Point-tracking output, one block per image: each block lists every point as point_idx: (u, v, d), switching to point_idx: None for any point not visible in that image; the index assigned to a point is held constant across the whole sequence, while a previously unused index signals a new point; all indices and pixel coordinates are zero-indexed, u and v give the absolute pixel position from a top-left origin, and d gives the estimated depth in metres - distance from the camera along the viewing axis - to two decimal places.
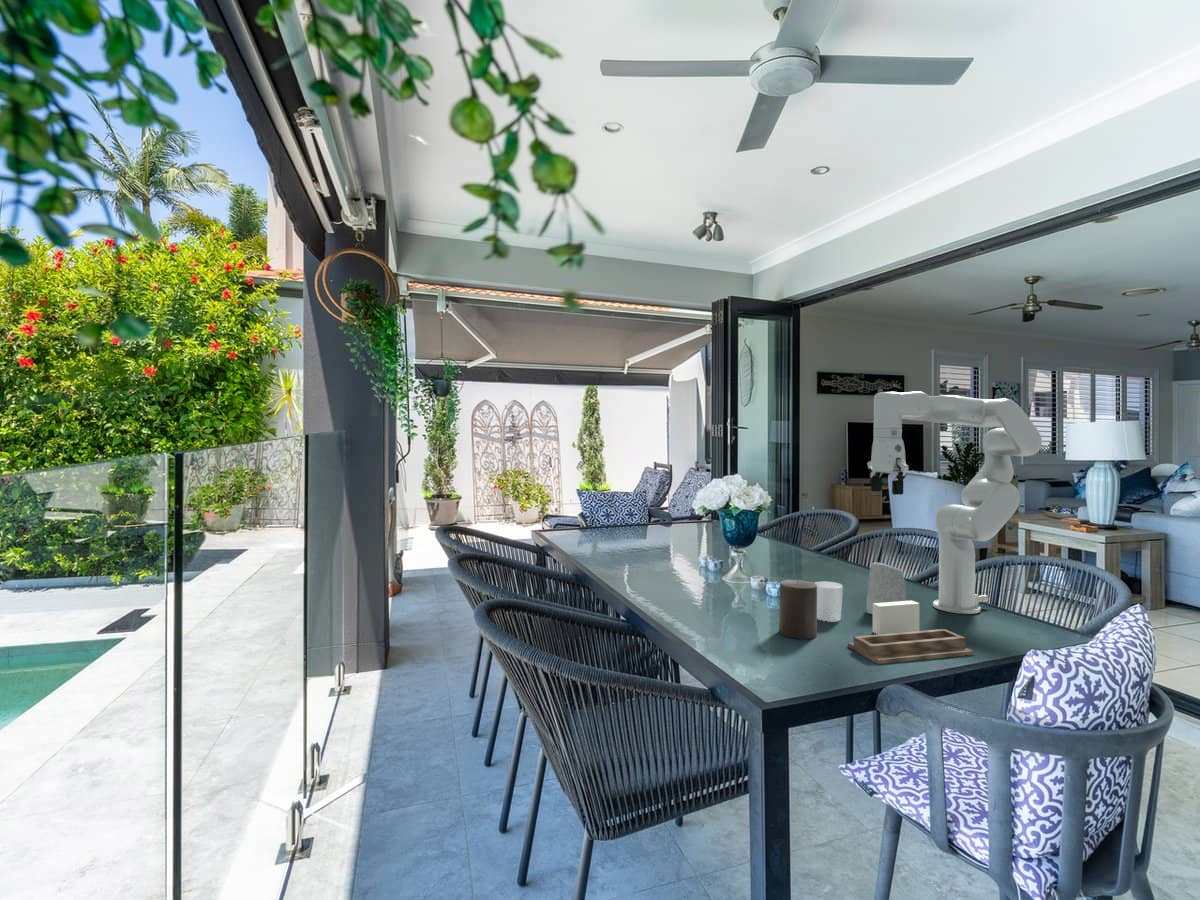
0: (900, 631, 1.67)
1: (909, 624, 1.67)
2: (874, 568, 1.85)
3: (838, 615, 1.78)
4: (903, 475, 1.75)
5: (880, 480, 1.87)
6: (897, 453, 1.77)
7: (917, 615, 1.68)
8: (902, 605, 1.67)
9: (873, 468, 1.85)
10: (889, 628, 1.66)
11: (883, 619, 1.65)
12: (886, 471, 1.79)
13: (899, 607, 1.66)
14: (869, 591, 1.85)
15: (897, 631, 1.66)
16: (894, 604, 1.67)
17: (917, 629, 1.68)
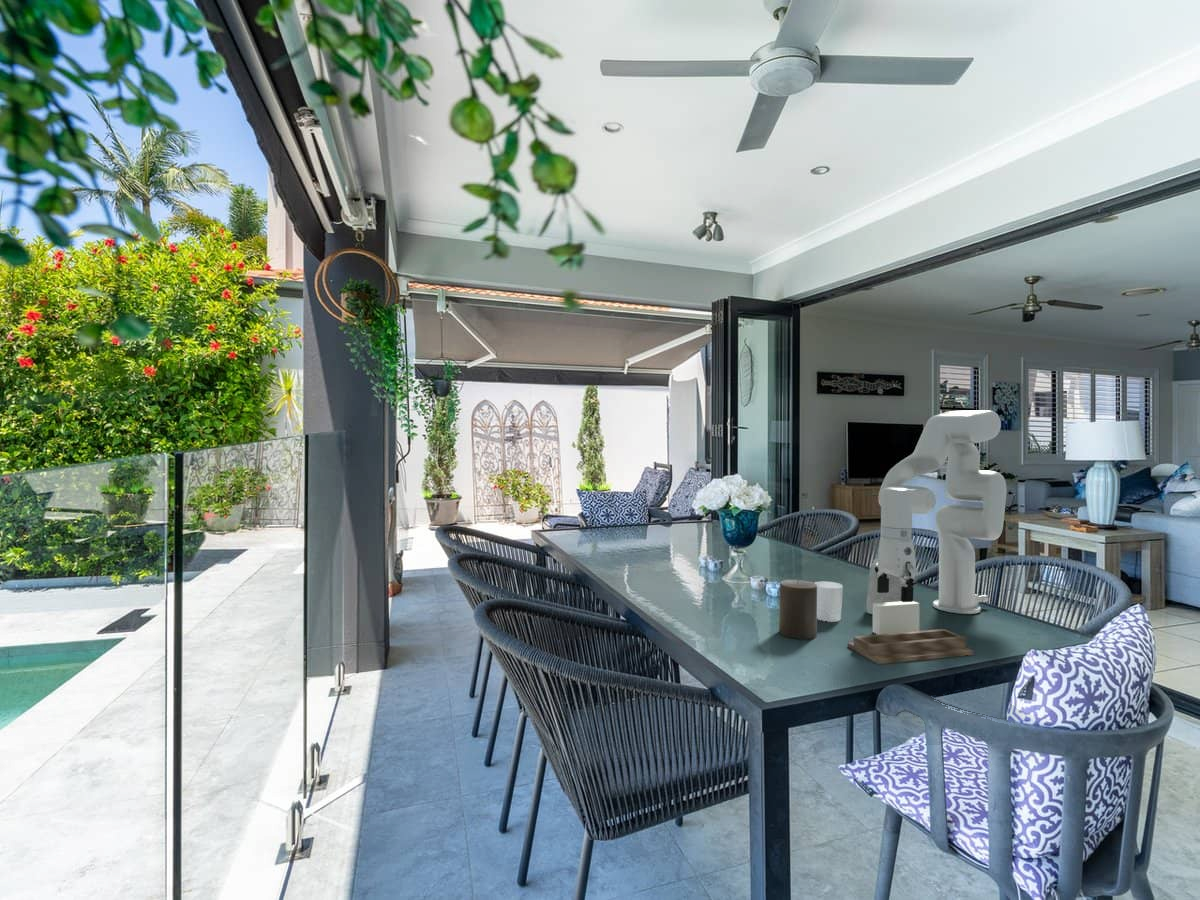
0: (900, 631, 1.67)
1: (909, 624, 1.67)
2: (874, 568, 1.85)
3: (838, 615, 1.78)
4: (913, 582, 1.60)
5: (887, 581, 1.72)
6: (907, 557, 1.62)
7: (917, 615, 1.68)
8: (902, 605, 1.67)
9: (880, 568, 1.70)
10: (889, 628, 1.66)
11: (883, 619, 1.65)
12: (895, 575, 1.64)
13: (899, 606, 1.66)
14: (869, 591, 1.85)
15: (897, 631, 1.66)
16: (894, 604, 1.67)
17: (917, 629, 1.68)
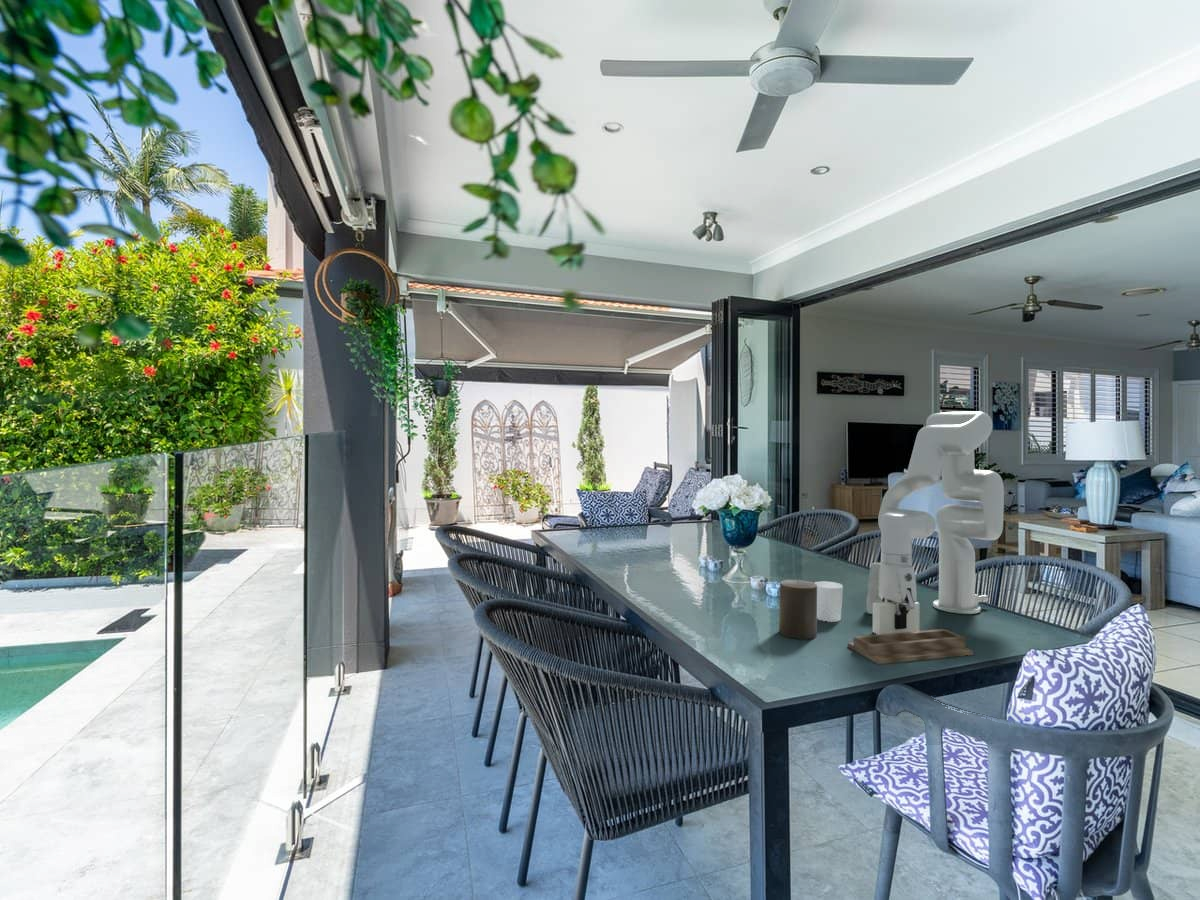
0: (900, 631, 1.67)
1: (909, 624, 1.67)
2: (874, 568, 1.85)
3: (838, 615, 1.78)
4: None
5: None
6: (907, 583, 1.63)
7: (917, 614, 1.67)
8: (902, 605, 1.67)
9: (881, 593, 1.71)
10: (889, 628, 1.66)
11: (883, 619, 1.65)
12: (896, 601, 1.65)
13: None
14: (869, 591, 1.85)
15: (897, 631, 1.66)
16: (894, 604, 1.67)
17: (917, 628, 1.68)
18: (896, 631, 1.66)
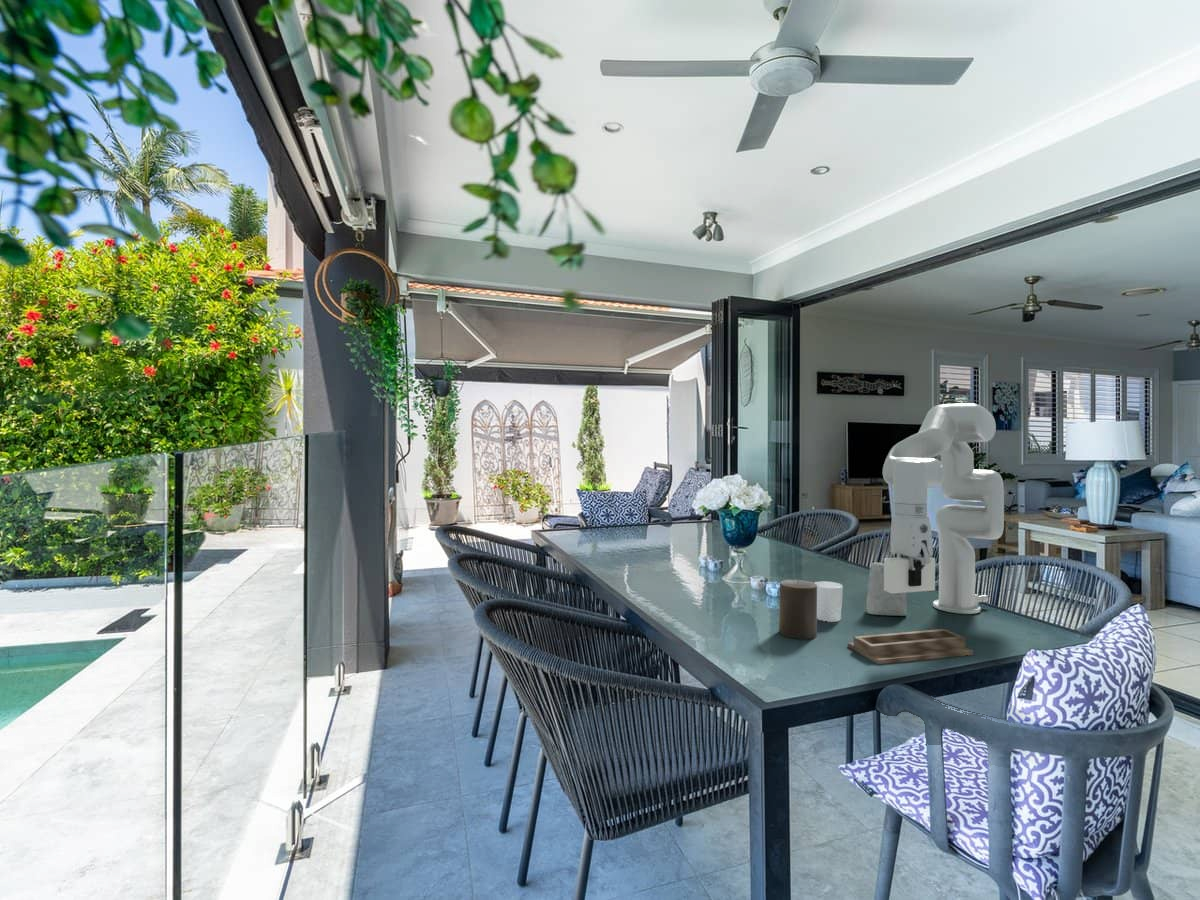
0: (914, 588, 1.52)
1: (924, 581, 1.53)
2: (874, 568, 1.85)
3: (838, 615, 1.78)
4: (920, 565, 1.50)
5: None
6: (923, 535, 1.48)
7: (933, 571, 1.53)
8: (916, 560, 1.52)
9: (893, 548, 1.56)
10: (902, 585, 1.52)
11: (895, 575, 1.51)
12: (910, 555, 1.50)
13: None
14: (869, 591, 1.85)
15: (911, 588, 1.52)
16: (907, 559, 1.52)
17: (932, 586, 1.53)
18: (910, 588, 1.52)
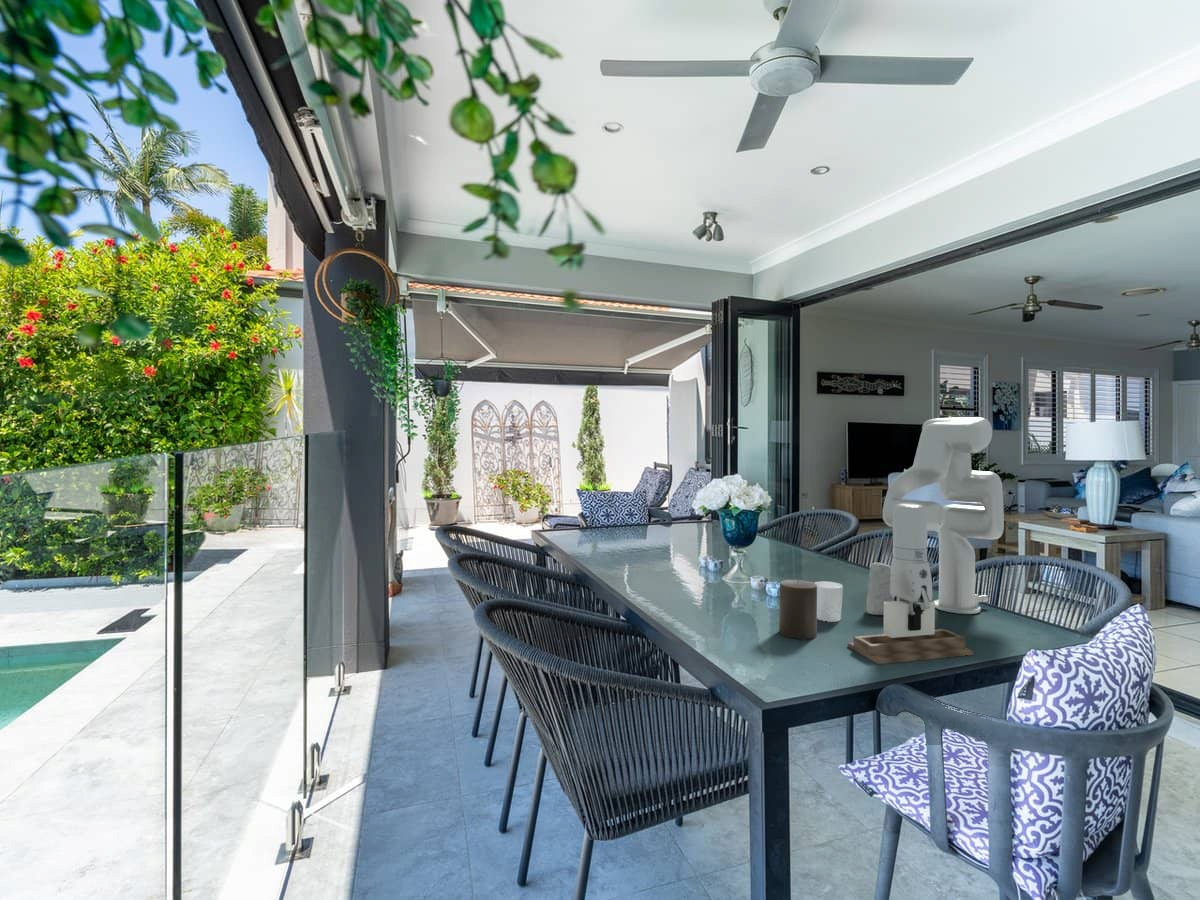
0: (914, 632, 1.52)
1: (924, 625, 1.53)
2: (874, 568, 1.85)
3: (838, 615, 1.78)
4: (920, 610, 1.50)
5: None
6: (922, 580, 1.49)
7: (933, 615, 1.53)
8: (916, 604, 1.52)
9: (892, 591, 1.57)
10: (902, 629, 1.52)
11: (895, 619, 1.51)
12: (909, 600, 1.51)
13: None
14: (869, 591, 1.85)
15: (910, 632, 1.52)
16: (907, 603, 1.53)
17: (932, 630, 1.53)
18: (909, 633, 1.52)
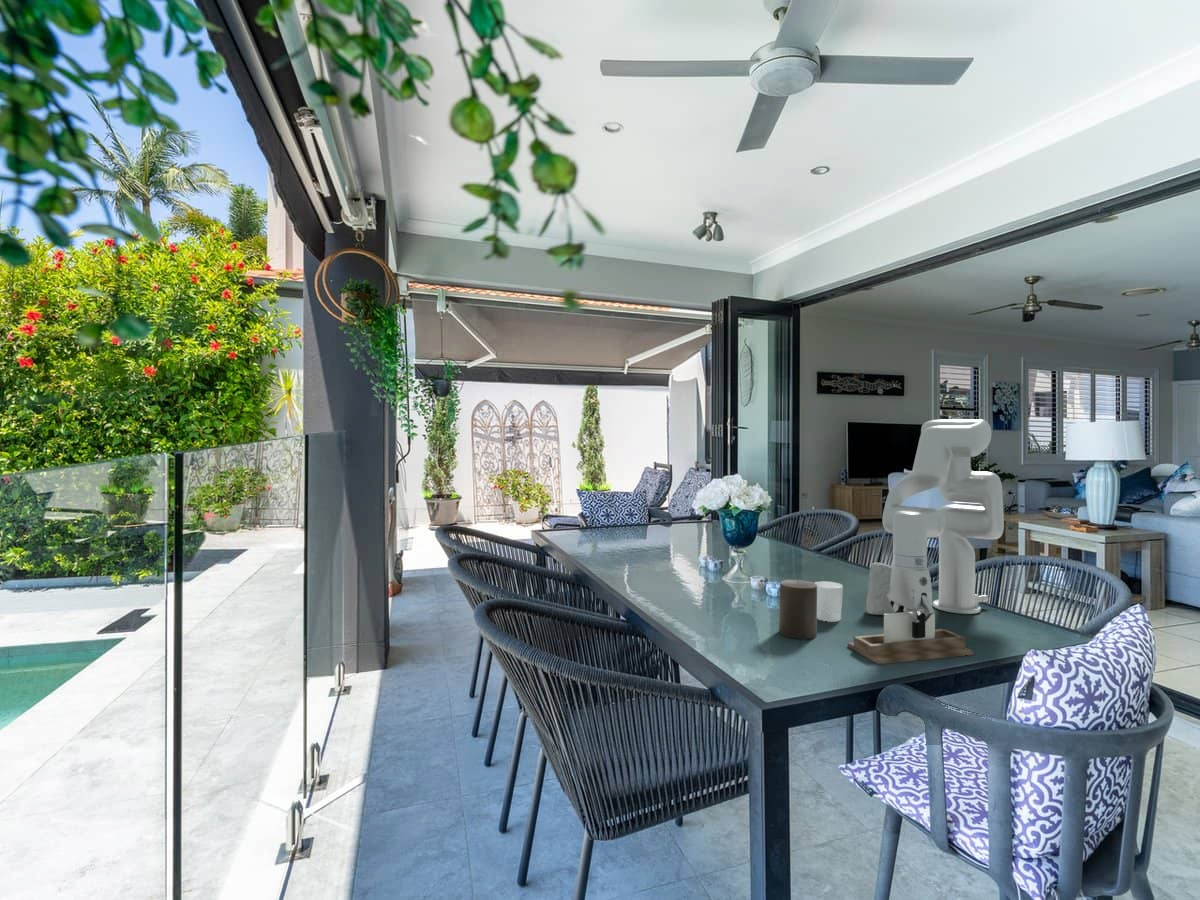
0: None
1: None
2: (874, 568, 1.85)
3: (838, 615, 1.78)
4: (925, 617, 1.48)
5: None
6: (922, 587, 1.49)
7: (933, 626, 1.54)
8: None
9: (892, 598, 1.57)
10: None
11: (895, 631, 1.52)
12: (909, 607, 1.51)
13: (912, 617, 1.52)
14: (869, 591, 1.85)
15: None
16: (907, 615, 1.53)
17: None
18: None
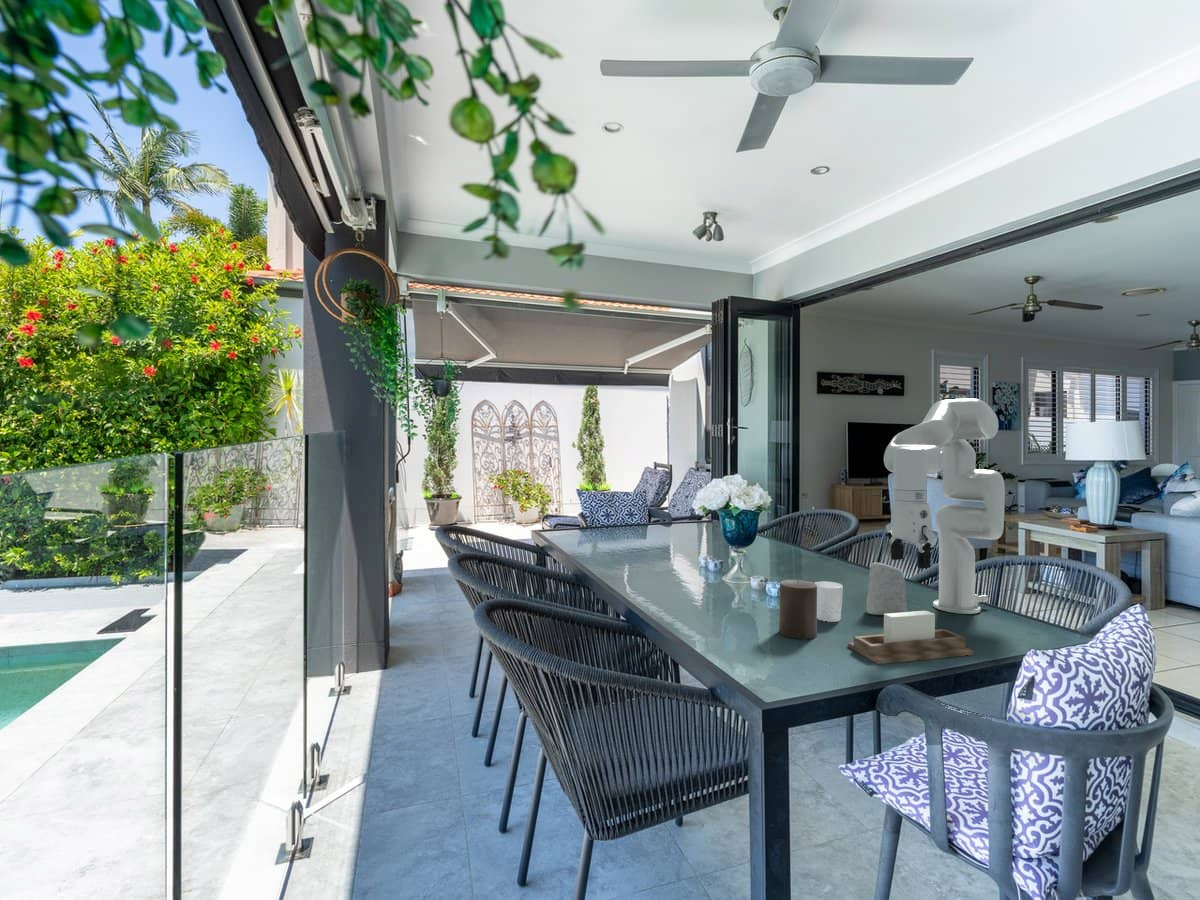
0: None
1: (924, 636, 1.53)
2: (874, 568, 1.85)
3: (838, 615, 1.78)
4: (931, 547, 1.50)
5: (901, 547, 1.61)
6: (923, 520, 1.52)
7: (933, 626, 1.54)
8: (916, 616, 1.53)
9: (893, 534, 1.60)
10: None
11: (895, 631, 1.52)
12: (910, 541, 1.54)
13: (912, 617, 1.52)
14: (869, 591, 1.85)
15: None
16: (907, 615, 1.53)
17: None
18: None
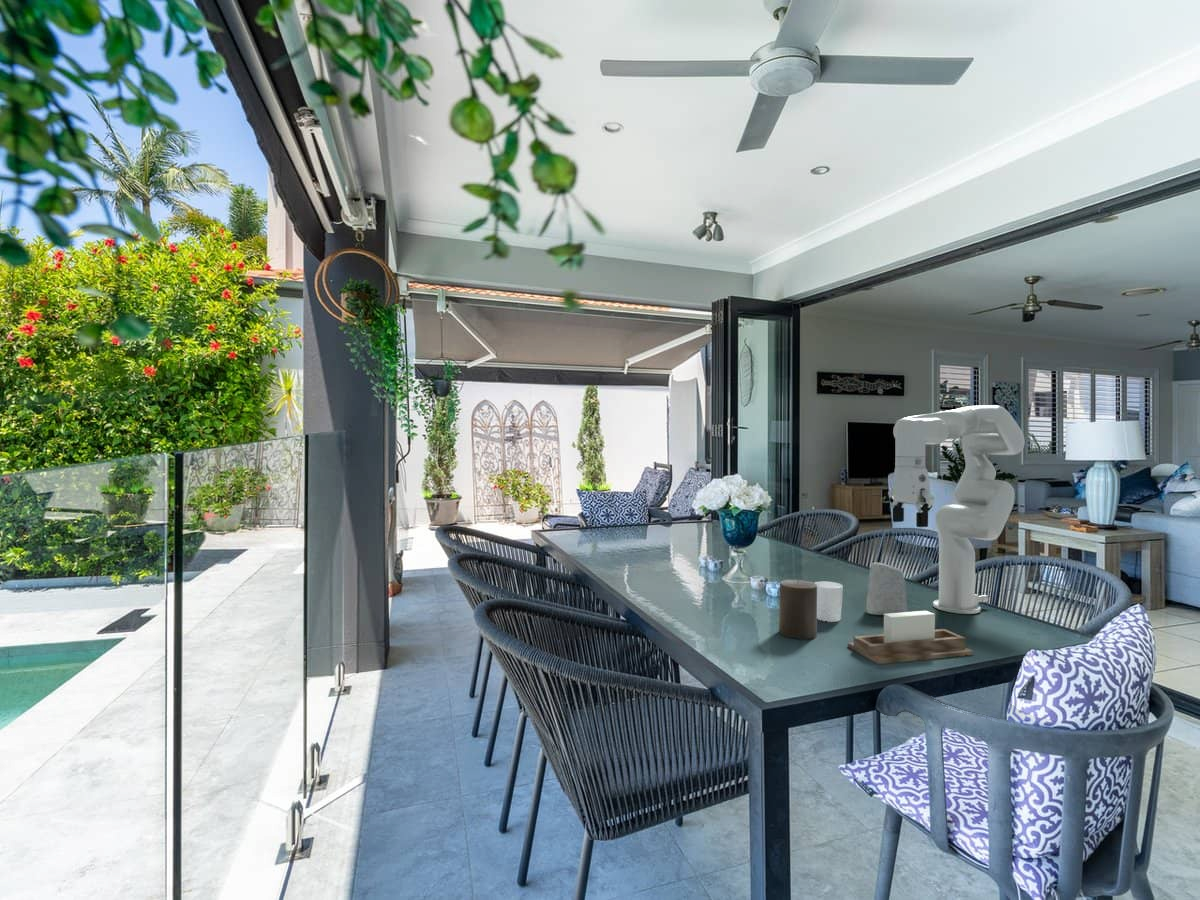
0: None
1: (924, 636, 1.53)
2: (874, 568, 1.85)
3: (838, 615, 1.78)
4: (928, 507, 1.66)
5: (902, 510, 1.78)
6: (921, 483, 1.68)
7: (933, 626, 1.54)
8: (916, 616, 1.53)
9: (895, 498, 1.76)
10: None
11: (895, 631, 1.52)
12: (910, 502, 1.70)
13: (912, 617, 1.52)
14: (869, 591, 1.85)
15: None
16: (907, 615, 1.53)
17: None
18: None
